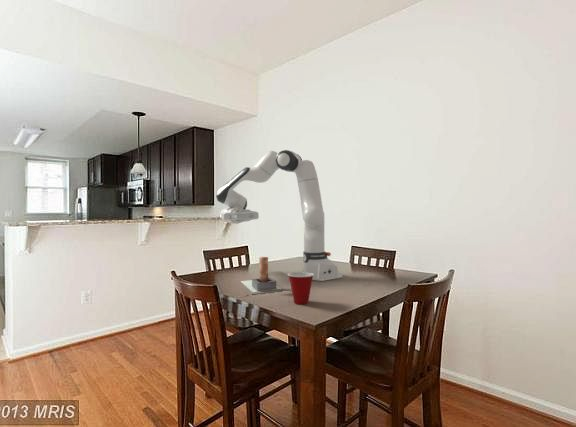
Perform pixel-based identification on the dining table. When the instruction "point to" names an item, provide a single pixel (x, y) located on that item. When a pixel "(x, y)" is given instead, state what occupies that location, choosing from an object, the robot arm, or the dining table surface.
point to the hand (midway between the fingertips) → (246, 216)
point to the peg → (263, 269)
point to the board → (261, 285)
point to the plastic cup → (301, 286)
